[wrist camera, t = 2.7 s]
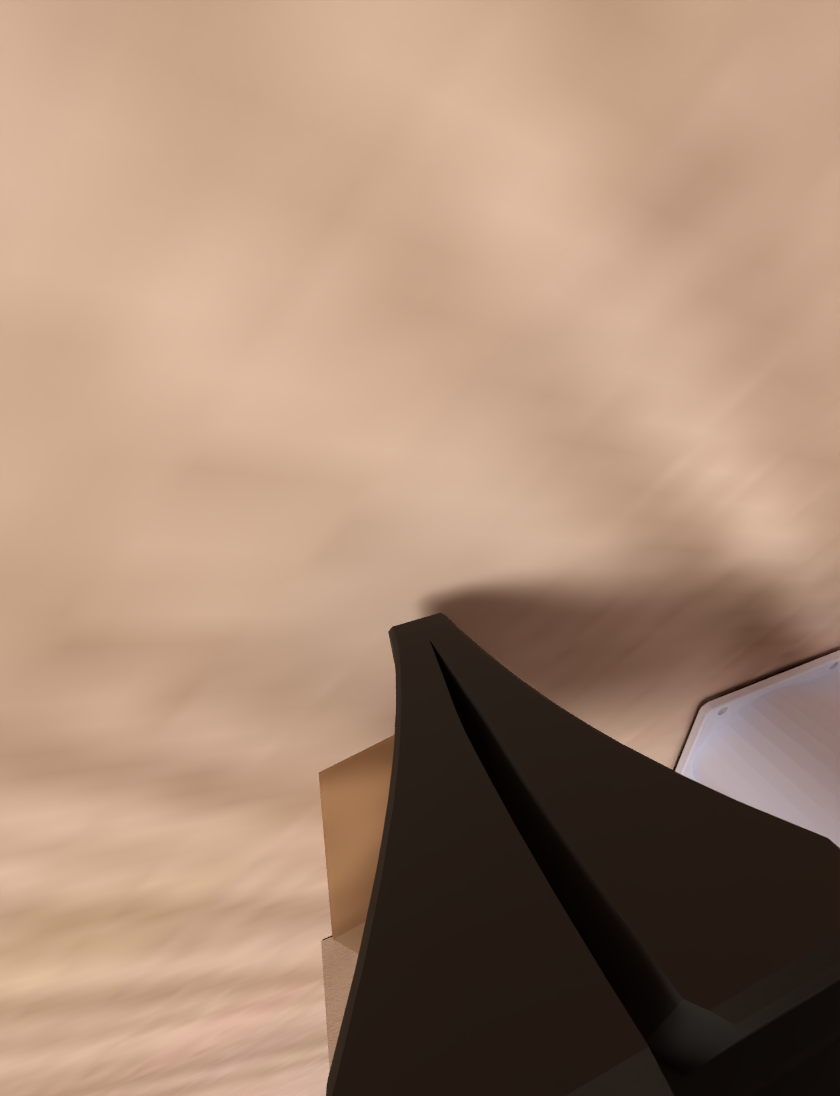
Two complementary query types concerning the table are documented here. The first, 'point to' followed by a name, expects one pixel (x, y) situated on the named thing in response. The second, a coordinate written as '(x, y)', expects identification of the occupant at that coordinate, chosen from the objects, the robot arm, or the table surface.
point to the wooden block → (354, 835)
